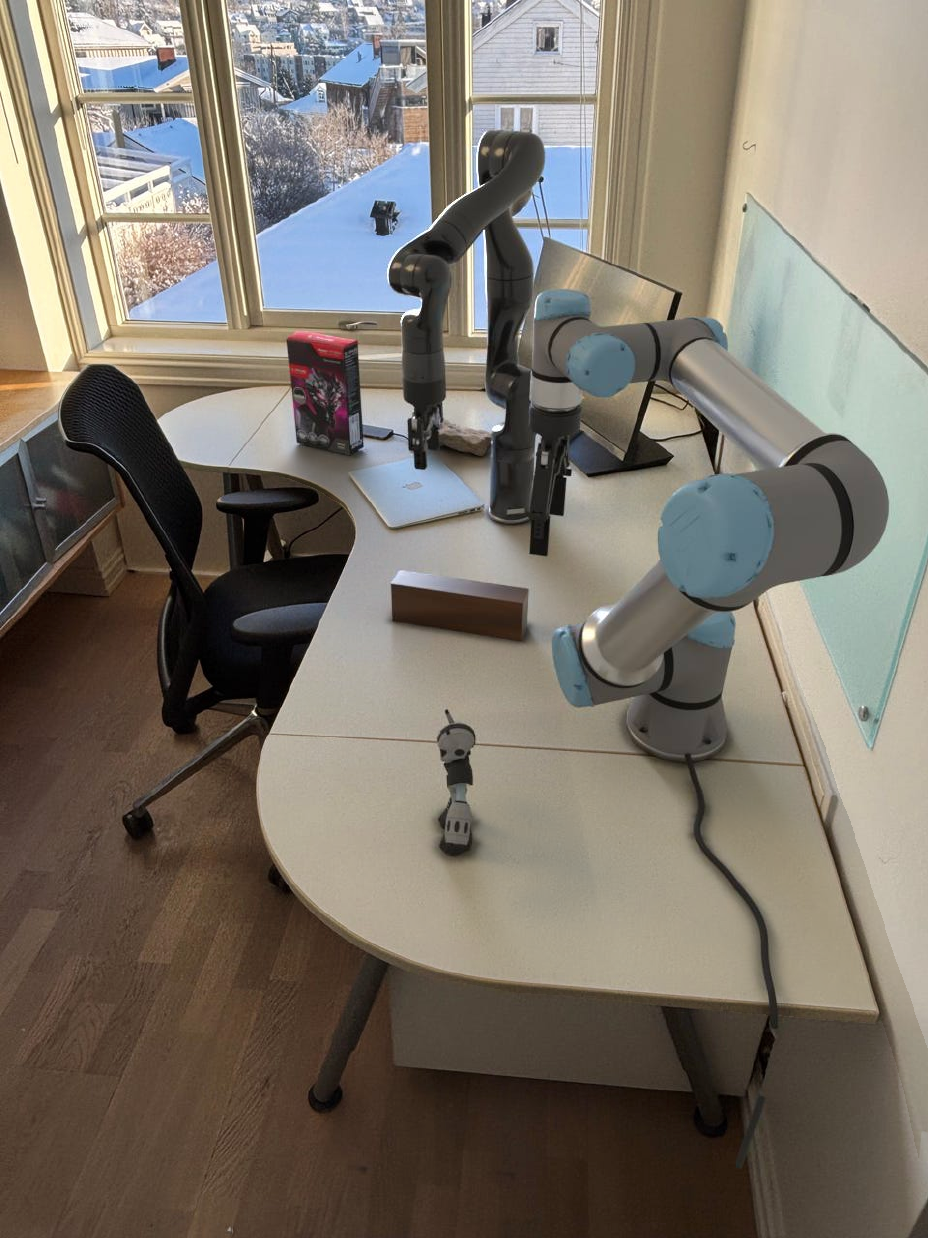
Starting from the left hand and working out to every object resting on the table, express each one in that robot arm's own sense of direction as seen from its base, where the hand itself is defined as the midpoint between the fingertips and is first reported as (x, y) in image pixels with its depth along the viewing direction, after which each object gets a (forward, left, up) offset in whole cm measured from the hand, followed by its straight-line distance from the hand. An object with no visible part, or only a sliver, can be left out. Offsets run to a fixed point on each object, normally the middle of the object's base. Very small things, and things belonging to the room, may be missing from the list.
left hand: (427, 458), depth 169 cm
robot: (+59, +37, -24) cm, 74 cm away
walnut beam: (+14, +14, -24) cm, 31 cm away
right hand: (+17, +31, +1) cm, 36 cm away
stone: (-56, -25, -24) cm, 66 cm away
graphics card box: (-42, -52, -24) cm, 71 cm away
